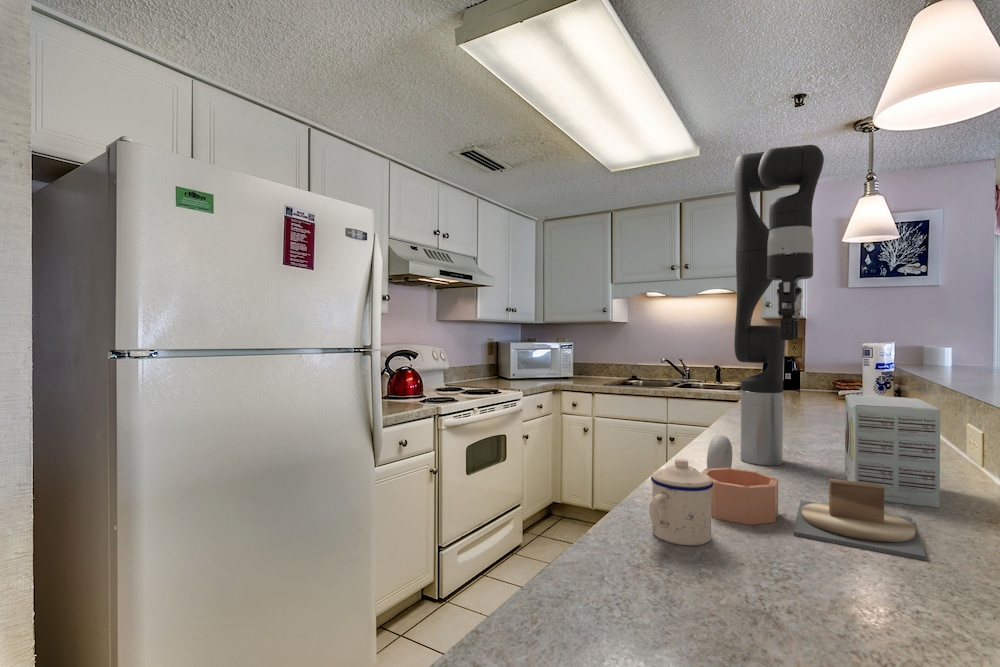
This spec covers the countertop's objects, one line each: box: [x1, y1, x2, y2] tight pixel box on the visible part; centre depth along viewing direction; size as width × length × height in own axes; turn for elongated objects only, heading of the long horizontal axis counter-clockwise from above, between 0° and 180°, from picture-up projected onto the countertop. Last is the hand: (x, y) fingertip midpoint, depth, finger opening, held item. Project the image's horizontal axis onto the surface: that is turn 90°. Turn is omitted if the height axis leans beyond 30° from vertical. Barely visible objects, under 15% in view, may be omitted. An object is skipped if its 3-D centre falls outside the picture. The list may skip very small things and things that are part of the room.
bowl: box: [700, 467, 779, 526], centre depth 91 cm, size 12×12×6 cm
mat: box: [792, 499, 927, 561], centre depth 83 cm, size 18×16×1 cm
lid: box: [802, 478, 916, 542], centre depth 83 cm, size 15×15×6 cm
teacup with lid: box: [649, 458, 713, 546], centre depth 79 cm, size 12×9×12 cm
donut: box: [706, 434, 733, 469], centre depth 108 cm, size 10×4×10 cm, turn 143°
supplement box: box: [844, 394, 941, 509], centre depth 103 cm, size 17×13×18 cm
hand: (789, 339), depth 97 cm, fingers open, 8 cm apart
